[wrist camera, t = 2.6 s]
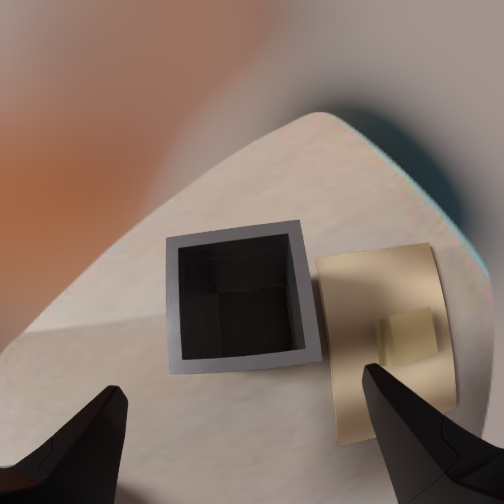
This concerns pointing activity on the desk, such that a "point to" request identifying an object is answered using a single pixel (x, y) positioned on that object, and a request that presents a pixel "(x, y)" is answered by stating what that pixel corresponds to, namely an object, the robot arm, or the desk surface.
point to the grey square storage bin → (234, 280)
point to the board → (354, 329)
